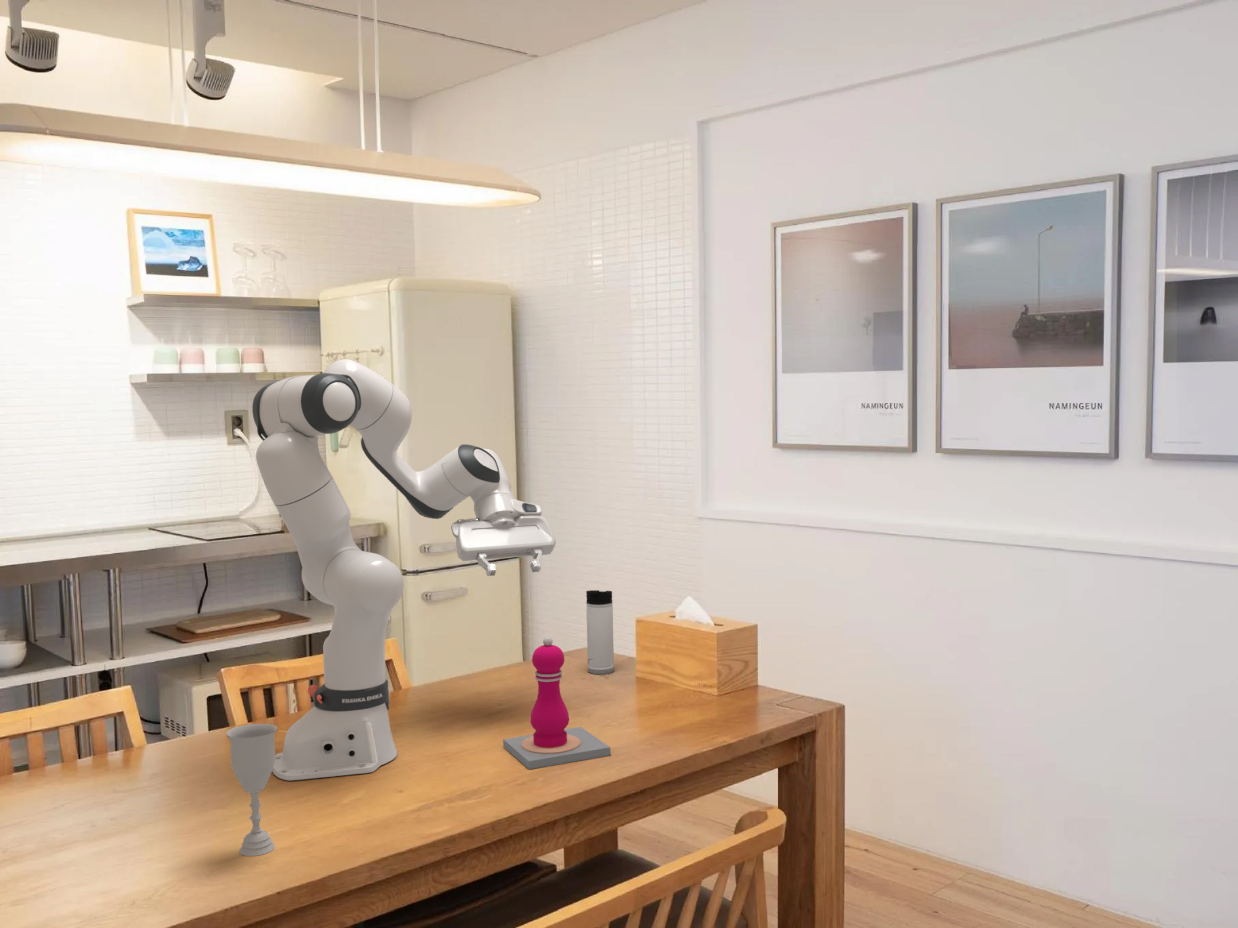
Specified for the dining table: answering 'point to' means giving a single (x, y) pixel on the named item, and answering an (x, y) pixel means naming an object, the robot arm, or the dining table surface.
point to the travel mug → (600, 632)
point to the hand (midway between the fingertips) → (514, 572)
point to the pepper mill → (549, 697)
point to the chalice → (253, 776)
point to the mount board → (557, 749)
